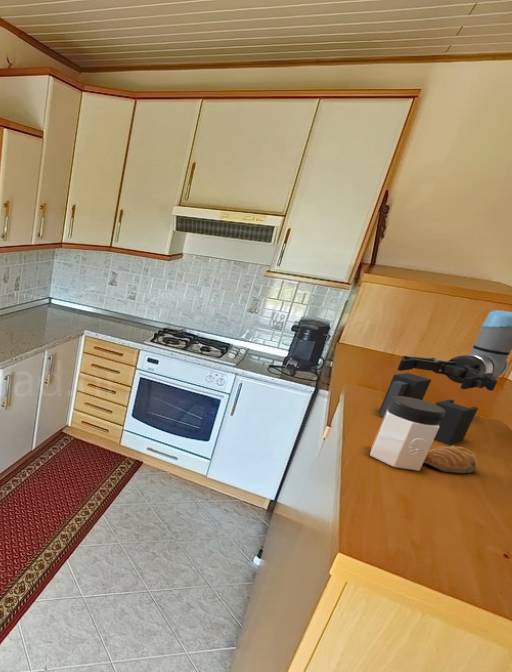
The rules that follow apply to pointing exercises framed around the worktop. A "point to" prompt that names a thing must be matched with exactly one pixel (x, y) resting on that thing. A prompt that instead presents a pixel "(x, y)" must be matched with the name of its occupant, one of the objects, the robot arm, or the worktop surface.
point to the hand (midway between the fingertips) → (431, 374)
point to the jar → (407, 432)
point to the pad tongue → (405, 388)
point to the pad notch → (454, 421)
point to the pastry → (452, 459)
